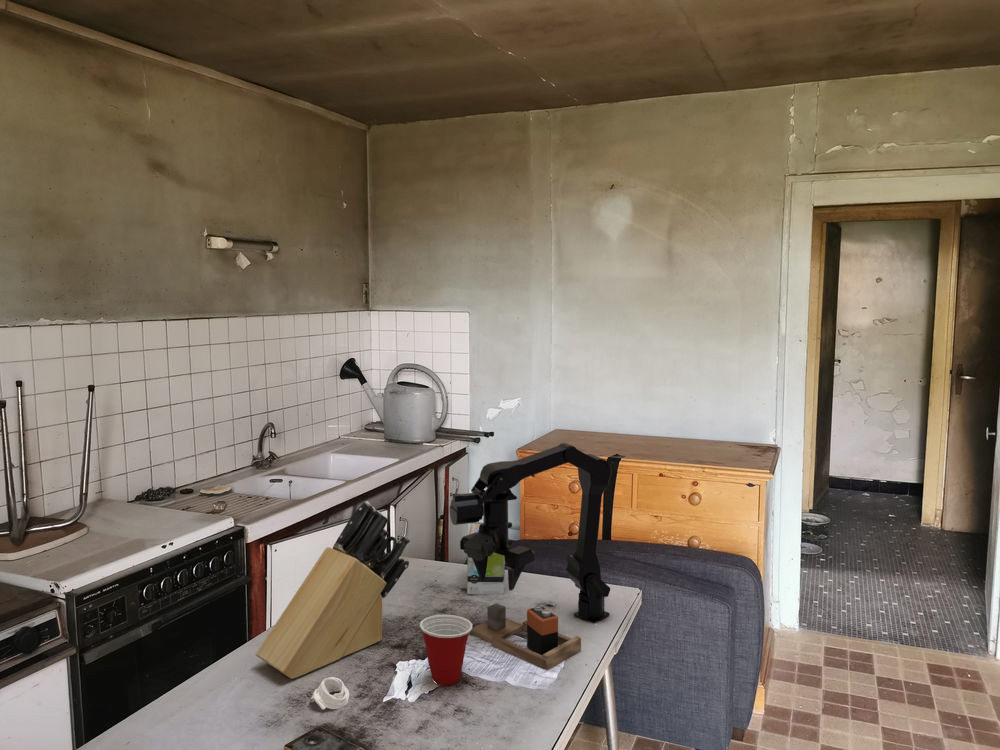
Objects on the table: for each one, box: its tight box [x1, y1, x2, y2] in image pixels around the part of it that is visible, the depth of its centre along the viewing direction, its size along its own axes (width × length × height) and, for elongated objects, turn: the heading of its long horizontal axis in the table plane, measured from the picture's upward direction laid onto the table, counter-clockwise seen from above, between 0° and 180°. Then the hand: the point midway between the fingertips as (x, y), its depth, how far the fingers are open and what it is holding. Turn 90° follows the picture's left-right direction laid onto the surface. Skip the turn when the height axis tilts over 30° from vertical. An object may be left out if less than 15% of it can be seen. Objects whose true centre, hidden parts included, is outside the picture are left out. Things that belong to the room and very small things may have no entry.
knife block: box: [255, 500, 411, 680], centre depth 169 cm, size 11×35×31 cm, turn 137°
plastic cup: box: [419, 614, 473, 687], centre depth 156 cm, size 11×11×12 cm
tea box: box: [466, 523, 506, 595], centre depth 205 cm, size 15×10×15 cm
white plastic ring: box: [309, 676, 350, 711], centre depth 148 cm, size 8×7×5 cm
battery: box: [526, 604, 559, 656], centre depth 167 cm, size 4×7×10 cm, turn 28°
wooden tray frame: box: [469, 602, 582, 671], centre depth 171 cm, size 12×24×6 cm, turn 46°
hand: (496, 584), depth 175 cm, fingers open, 9 cm apart
